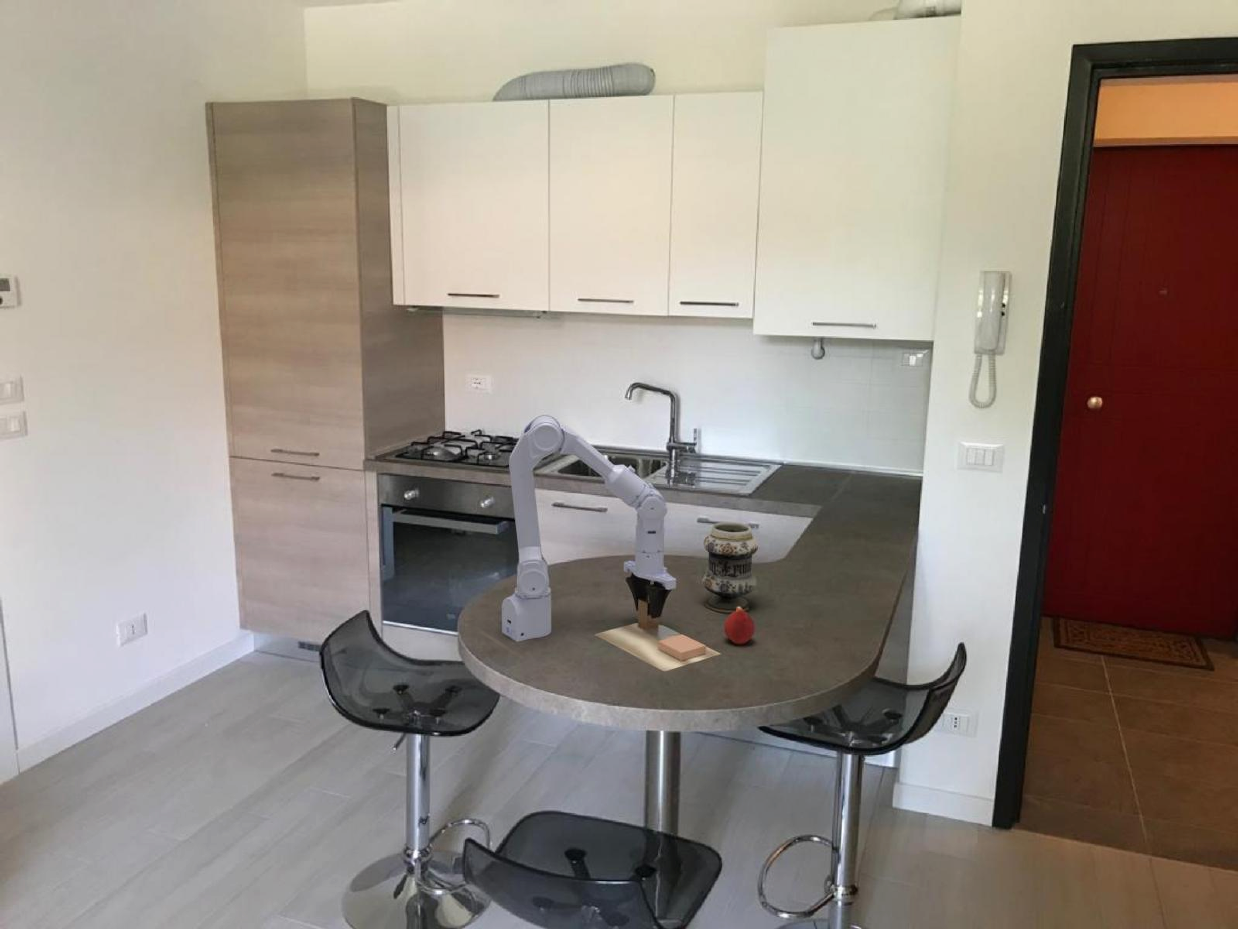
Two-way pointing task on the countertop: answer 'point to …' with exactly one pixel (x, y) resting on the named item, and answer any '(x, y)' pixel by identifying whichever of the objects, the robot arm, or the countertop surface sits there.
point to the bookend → (652, 622)
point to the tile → (681, 647)
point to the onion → (739, 626)
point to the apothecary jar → (729, 566)
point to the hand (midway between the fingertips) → (648, 613)
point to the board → (647, 647)
